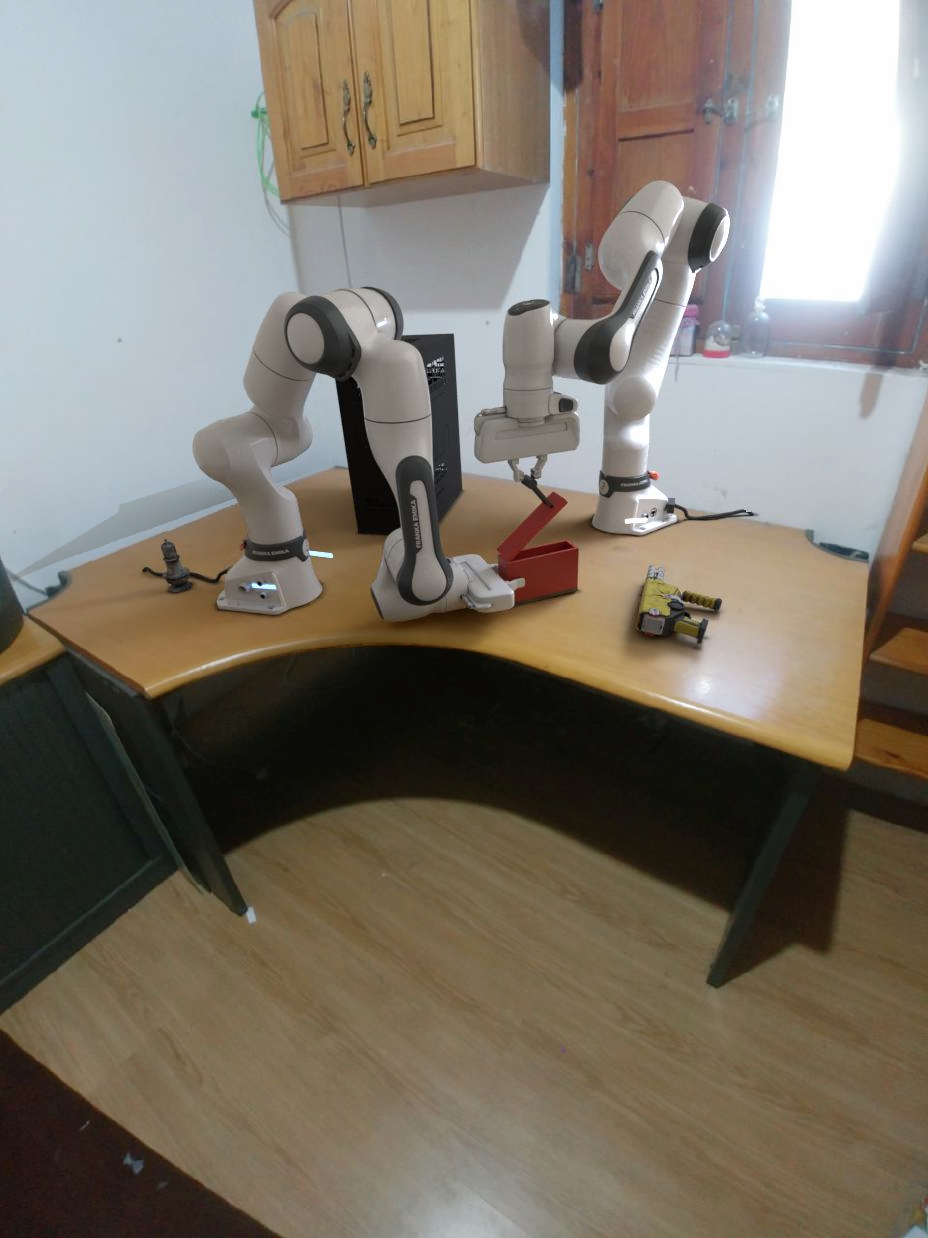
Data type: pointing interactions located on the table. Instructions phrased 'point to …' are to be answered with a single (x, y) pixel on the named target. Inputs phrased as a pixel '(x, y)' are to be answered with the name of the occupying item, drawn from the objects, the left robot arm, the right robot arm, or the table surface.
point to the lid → (532, 521)
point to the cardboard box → (366, 477)
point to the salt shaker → (175, 569)
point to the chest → (542, 571)
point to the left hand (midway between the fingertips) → (516, 574)
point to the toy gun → (670, 608)
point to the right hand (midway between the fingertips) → (527, 479)
